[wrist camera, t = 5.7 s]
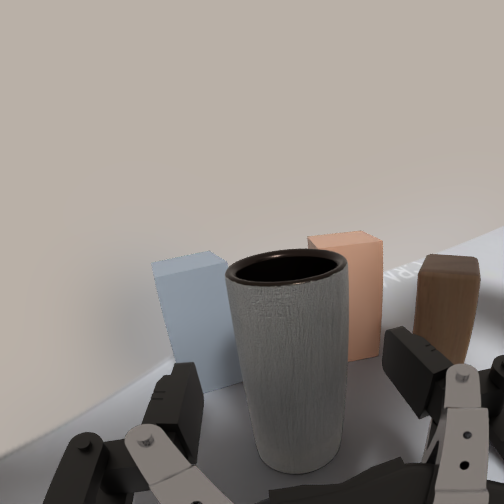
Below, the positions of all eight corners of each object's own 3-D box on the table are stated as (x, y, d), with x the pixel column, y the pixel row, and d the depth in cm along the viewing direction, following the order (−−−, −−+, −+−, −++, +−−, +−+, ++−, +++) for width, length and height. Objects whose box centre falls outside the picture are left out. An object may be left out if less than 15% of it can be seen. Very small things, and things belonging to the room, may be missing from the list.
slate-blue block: (227, 352, 23) (209, 250, 21) (247, 380, 19) (227, 261, 17) (177, 366, 22) (151, 262, 20) (187, 397, 18) (154, 277, 16)
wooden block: (416, 351, 18) (426, 252, 17) (461, 358, 16) (478, 255, 14) (403, 381, 16) (417, 269, 14) (455, 391, 13) (481, 274, 11)
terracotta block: (361, 329, 24) (361, 230, 22) (378, 355, 19) (382, 240, 17) (313, 337, 24) (307, 236, 22) (322, 366, 19) (317, 248, 18)
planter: (258, 480, 10) (218, 292, 8) (256, 421, 15) (227, 256, 13) (349, 464, 10) (368, 270, 8) (330, 410, 15) (328, 243, 13)
